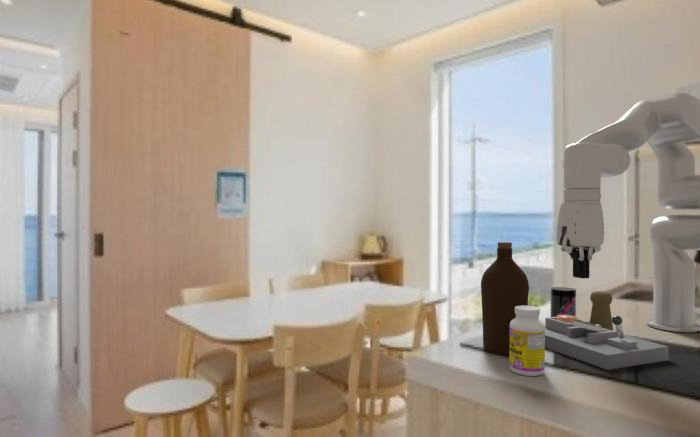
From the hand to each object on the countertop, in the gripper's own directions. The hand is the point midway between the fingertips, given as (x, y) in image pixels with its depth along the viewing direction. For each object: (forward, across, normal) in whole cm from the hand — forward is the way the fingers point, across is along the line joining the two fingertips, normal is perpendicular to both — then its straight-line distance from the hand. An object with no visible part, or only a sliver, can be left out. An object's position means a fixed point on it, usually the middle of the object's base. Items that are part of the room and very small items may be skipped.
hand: (580, 277), depth 106 cm
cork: (+17, -20, -12) cm, 29 cm away
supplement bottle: (+18, +21, +6) cm, 28 cm away
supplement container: (+17, -17, -22) cm, 33 cm away
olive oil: (+18, +15, -8) cm, 24 cm away
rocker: (+12, -4, 0) cm, 13 cm away
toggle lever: (+12, -4, +7) cm, 15 cm away
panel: (+17, -4, -1) cm, 18 cm away
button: (+14, -4, -8) cm, 17 cm away
